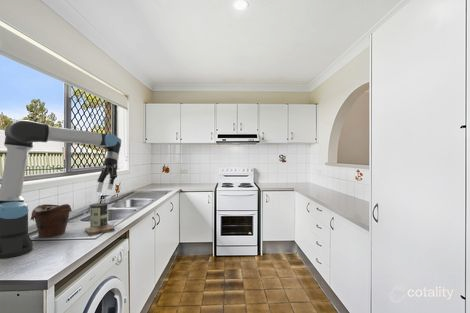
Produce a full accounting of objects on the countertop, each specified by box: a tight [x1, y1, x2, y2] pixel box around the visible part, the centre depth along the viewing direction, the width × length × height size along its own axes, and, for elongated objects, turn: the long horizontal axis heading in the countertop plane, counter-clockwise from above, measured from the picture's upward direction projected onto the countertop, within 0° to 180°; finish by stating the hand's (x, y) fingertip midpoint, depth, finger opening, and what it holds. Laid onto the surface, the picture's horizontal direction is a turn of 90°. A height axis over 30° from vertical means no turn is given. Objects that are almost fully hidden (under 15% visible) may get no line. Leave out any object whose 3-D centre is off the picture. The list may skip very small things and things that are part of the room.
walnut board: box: [84, 224, 116, 236], centre depth 154 cm, size 14×11×2 cm
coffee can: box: [89, 202, 109, 228], centre depth 165 cm, size 10×10×14 cm
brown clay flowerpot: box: [29, 203, 73, 238], centre depth 149 cm, size 18×20×18 cm
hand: (104, 190), depth 158 cm, fingers open, 13 cm apart
